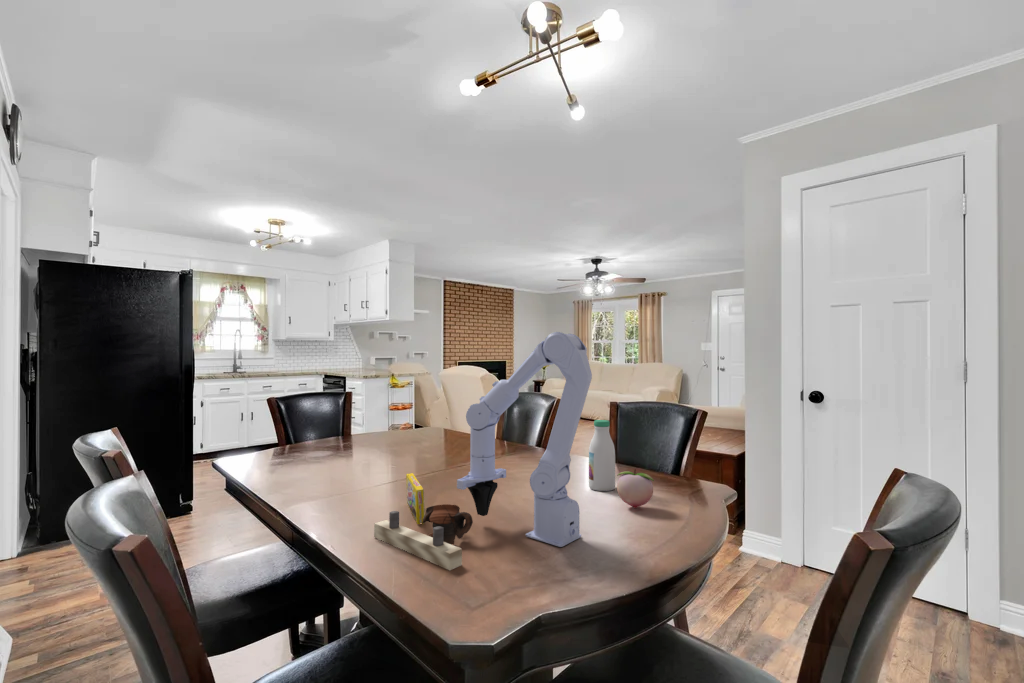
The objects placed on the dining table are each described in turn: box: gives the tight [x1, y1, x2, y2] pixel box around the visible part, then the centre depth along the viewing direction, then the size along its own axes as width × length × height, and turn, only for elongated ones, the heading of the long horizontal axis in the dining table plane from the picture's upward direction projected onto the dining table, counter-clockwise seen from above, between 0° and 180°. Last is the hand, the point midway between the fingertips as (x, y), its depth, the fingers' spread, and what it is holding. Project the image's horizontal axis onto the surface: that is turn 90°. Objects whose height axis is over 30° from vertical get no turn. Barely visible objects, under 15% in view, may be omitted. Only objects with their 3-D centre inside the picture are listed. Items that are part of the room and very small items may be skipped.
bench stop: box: [373, 510, 463, 571], centre depth 96 cm, size 24×3×6 cm, turn 49°
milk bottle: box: [588, 419, 616, 492], centre depth 142 cm, size 8×8×20 cm
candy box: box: [405, 472, 425, 525], centre depth 118 cm, size 16×2×8 cm, turn 21°
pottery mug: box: [422, 503, 474, 545], centre depth 102 cm, size 12×10×8 cm
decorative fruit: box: [616, 468, 655, 509], centre depth 123 cm, size 9×8×10 cm
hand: (482, 514), depth 110 cm, fingers closed
